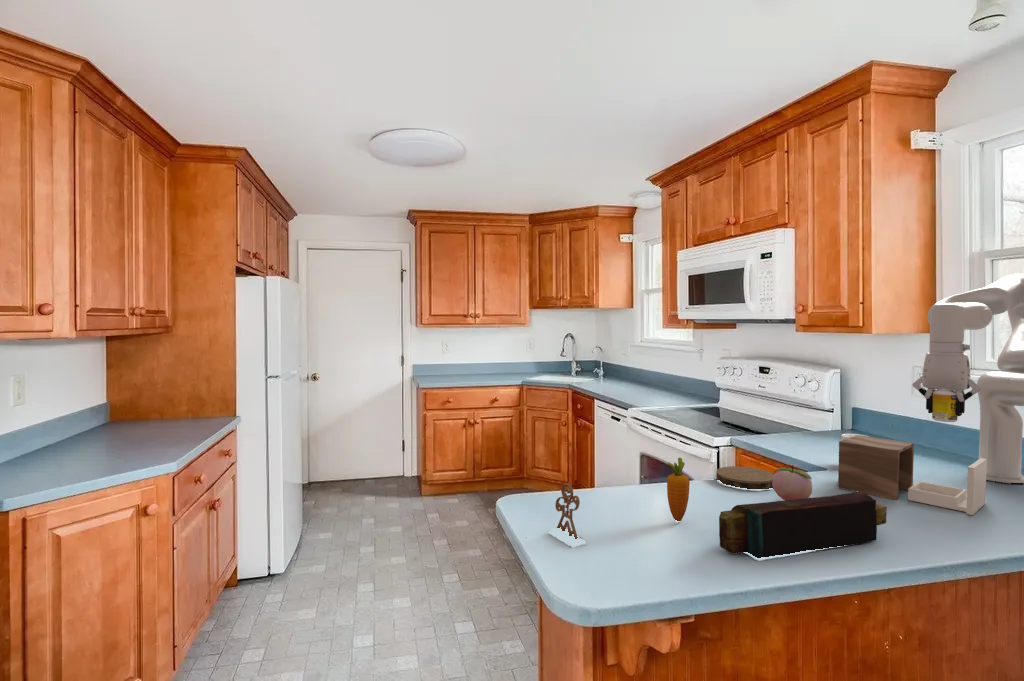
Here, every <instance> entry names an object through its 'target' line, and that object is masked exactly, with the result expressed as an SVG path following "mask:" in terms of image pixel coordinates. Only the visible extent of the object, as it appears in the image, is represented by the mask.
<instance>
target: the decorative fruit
mask: <svg viewBox="0 0 1024 681" xmlns="http://www.w3.org/2000/svg"><path fill="white" fill-rule="evenodd" d="M773 473H774V475H775V476H774V478H773V481H772V486H773V489H772V490H773V491H774V492H775V494H776V495H777V496H778V497H779V498H781V499H782V501H785V500H794V499H803V498H811V495H812V492H813V481H812V477H811V475H810V474H809V473H808V472H806V471H804V470H799V469H794V465H791V468H788V467H780V468H777V469H775V470H774V471H773Z"/></svg>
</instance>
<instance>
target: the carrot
mask: <svg viewBox="0 0 1024 681" xmlns="http://www.w3.org/2000/svg"><path fill="white" fill-rule="evenodd" d="M685 464H686V463H685V462H684V461H683V458H682V457H678V458H677V462H673V463H671V462H667V465H668V466H669V467H670V468H671V469H672V471H673V473H671V474H669V475H667V478H666V492H667V493H666V494H667V502H668V507H669V511H670V514H671V516H672V518H673V520H674V519H675V520H677V521H681V522H682V519H683V518H684V516H685V514H686V511H687V508H688V502H689V498H690V496H689V495H690V485H691V484H690V483H691V482H690V478H689V477H688V476H687V475H685V474H684V473H683V469H684V467H685ZM675 520H674V521H675Z"/></svg>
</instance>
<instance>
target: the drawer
mask: <svg viewBox="0 0 1024 681" xmlns="http://www.w3.org/2000/svg"><path fill="white" fill-rule="evenodd" d="M986 466H987V459H984V458H980V459H979V458H978V459H977V460H976V461H974V462H972V464H970V465H969V466H967V479H966V482H967V483H966V489H963V488H960V487H959V488H958V487H953V486H948V485H942V484H937V483H930V482H928V481H926V482H925V481H918V482H916V483H915V484H913V486H911V487H910V488H908V490H907V495H908V496H907V500H908V501H912V502H918V503H922V504H926V505H931V506H936V507H939V508H940V507H941V508H945V509H950V510H954V511H955V510H956V511H960V512H963V513H964V512H965V514H966V515H970V516H974V515H975V514H976V513H977V512H978V511H979V510H980V509H981V508H982V507H983V506H984V505H985V504H986V495H987V494H986V492H987V490H986V489H987V480H986Z"/></svg>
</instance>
